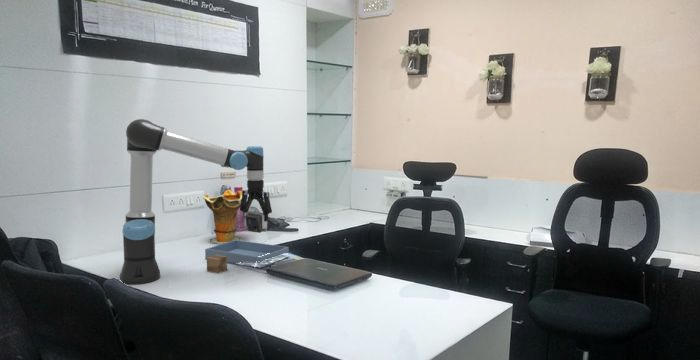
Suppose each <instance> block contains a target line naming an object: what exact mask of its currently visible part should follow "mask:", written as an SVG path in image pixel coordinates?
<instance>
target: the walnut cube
mask: <svg viewBox="0 0 700 360" xmlns="http://www.w3.org/2000/svg"><path fill="white" fill-rule="evenodd" d="M224 270H225V271H227V270H228V263H227V256H221V255H214V256H211V257H208V258H207V260H206V271H207V272H210V273H214V272H215V273H216V274H219V272H220V273H222V272H224ZM215 273H214V274H215Z"/></svg>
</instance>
